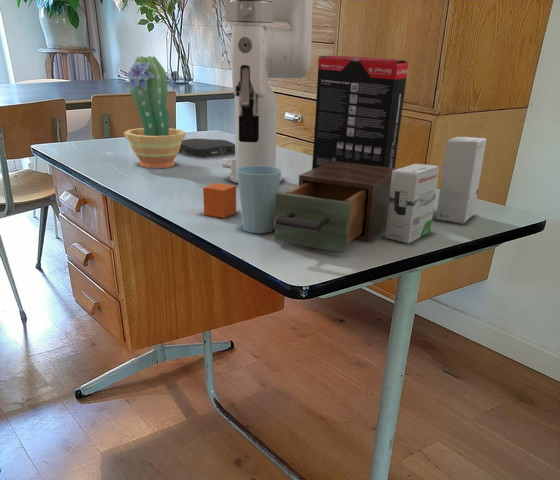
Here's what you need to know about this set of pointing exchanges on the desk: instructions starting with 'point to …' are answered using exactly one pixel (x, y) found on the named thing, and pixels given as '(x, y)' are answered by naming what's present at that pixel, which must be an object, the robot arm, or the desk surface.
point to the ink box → (411, 202)
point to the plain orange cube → (219, 200)
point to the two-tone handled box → (320, 215)
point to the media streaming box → (206, 147)
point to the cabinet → (359, 177)
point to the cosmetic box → (460, 179)
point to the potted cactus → (152, 115)
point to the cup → (258, 196)
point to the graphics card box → (358, 110)
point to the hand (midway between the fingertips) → (248, 141)
